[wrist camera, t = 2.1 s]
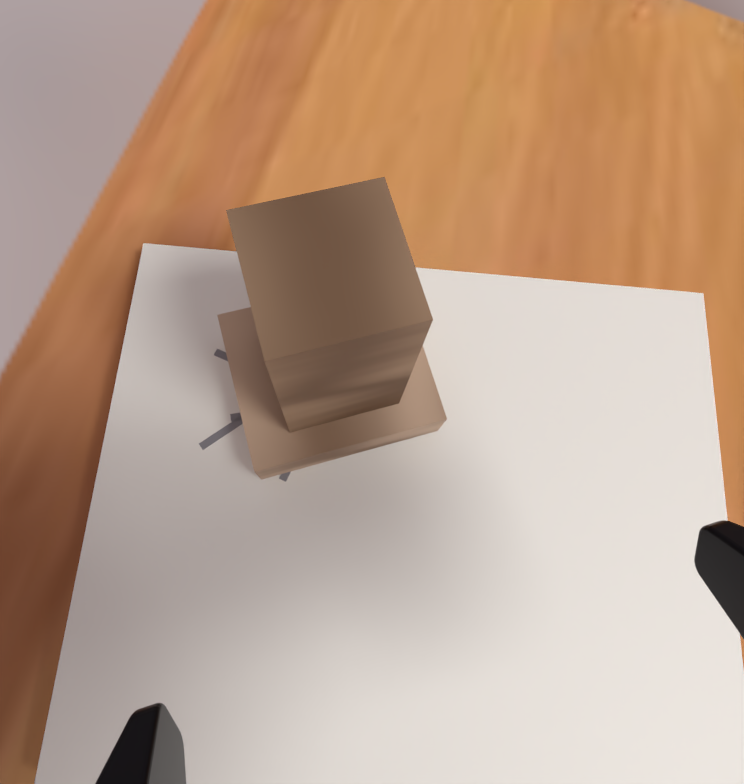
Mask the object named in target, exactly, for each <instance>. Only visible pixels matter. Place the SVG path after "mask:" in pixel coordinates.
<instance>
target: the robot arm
mask: <svg viewBox="0 0 744 784" xmlns="http://www.w3.org/2000/svg"><path fill="white" fill-rule="evenodd" d="M694 563H695V567H696V570H697V572H698V574H699V575H700V577H701V578H702V580H703V581H704V583H705V584H706V586H707V587H708V588H709V590H710V591H711V593H712V594H713V596H714V597H715V598H716V600H717V601H718V603H719V604H720V606H721V607H722V609H723V610H724V611H725V613H726V614H727V616H728V617H729V619H730V620H731V622H732V623H733V624H734V626H735V627H736V629H737V630H738V632H739V633H740V635H741V636H742V637H743V639H744V527H743V526H740V525H738V524H735V523H733V522H730V521H726V520H722V521H717V522H714V523H711V524H708V525H705V526H703V527H702V528H701V529H700V531H699V535H698V540H697V546H696V551H695V557H694ZM95 784H186V771H185V755H184V744H183V739H182V735H181V732H180V730H179V728H178V727H177V725H176V723H175V721H174V720H173V718H172V716H171V715H170V713H169V711H168V709H167V708H166V706H165V705H164V704H162V703H155V704H152V705H149V706H146V707H143V708H140V709H138V710H136V711H135V712H134V713H133V714H132V715H131V716H130V718H129V720H128V721H127V723H126V725H125V727H124V729H123V731H122V733H121V735H120V737H119V739H118V741H117V743H116V745H115V746H114V748H113V750H112V752H111V754H110V756H109V758H108V760H107V762H106V764H105V766H104V768H103V769H102V771H101V773H100V775H99V777H98V779H97V781H96V783H95Z"/></svg>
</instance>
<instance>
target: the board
mask: <svg viewBox="0 0 744 784" xmlns="http://www.w3.org/2000/svg"><path fill="white" fill-rule="evenodd" d="M416 271H417V274H418V277H419V280H420V283H421V285H422V288H423V291H424V294H425V297H426V300H427V303H428V306H429V309H430V312H431V315H432V318H433V321H432V324H431V326H430V328H429V331H428V333H427V336H426V338H425V341H424V343H423V348H424V351H425V354H426V357H427V360H428V363H429V366H430V369H431V372H432V375H433V378H434V381H435V384H436V387H437V390H438V393H439V396H440V399H441V402H442V405H443V408H444V411H445V414H446V417H447V420H446V421H445V422H444V423H443V425H442V426H441V427H440V428H439V430H438V431H435V432H432V433H428V434H425V435H421V436H417V437H414V438H410V439H407V440H403V441H399V442H396V443H392V444H388V445H385V446H381V447H378V448H374V449H370V450H367V451H363V452H359V453H356V454H352V455H349V456H345V457H341V458H338V459H334V460H330V461H327V462H323V463H320V464H316V465H312V466H309V467H305V468H302V469H298V470H294V471H291V472H287V473H283V474H280V475H276V476H273V477H269V478H265V479H262V480H261V479H260V478H259V476H258V475H257V474H256V473H255V472H254V469H253V465H252V460H251V456H250V452H249V448H248V443H247V439H246V435H245V431H244V426H243V422H242V418H241V414H240V410H239V405H238V401H237V397H236V393H235V388H234V384H233V380H232V376H231V371H230V367H229V363H228V359H227V354H226V350H225V346H224V342H223V337H222V333H221V329H220V325H219V320H218V316H217V315H219V314H223V313H227V312H232V311H236V310H240V309H244V308H249V307H251V306H250V302H249V298H248V294H247V290H246V286H245V282H244V278H243V274H242V270H241V266H240V262H239V259H238V255H237V252H236V251H225V250H214V249H203V248H192V247H180V246H169V245H158V244H147V243H143V248H142V253H141V258H140V263H139V268H138V273H137V278H136V283H135V288H134V293H133V298H132V303H131V307H130V312H129V317H128V322H127V327H126V332H125V337H124V342H123V347H122V352H121V357H120V362H119V367H118V372H117V377H116V382H115V387H114V392H113V397H112V401H111V406H110V411H109V416H108V421H107V426H106V431H105V436H104V441H103V446H102V451H101V456H100V461H99V466H98V471H97V476H96V481H95V486H94V491H93V495H92V500H91V505H90V510H89V515H88V520H87V525H86V530H85V535H84V540H83V545H82V550H81V555H80V560H79V565H78V570H77V575H76V580H75V584H74V589H73V594H72V599H71V604H70V609H69V614H68V619H67V624H66V629H65V634H64V639H63V644H62V649H61V654H60V659H59V664H58V669H57V674H56V678H55V683H54V688H53V693H52V698H51V703H50V708H49V713H48V718H47V723H46V728H45V733H44V738H43V743H42V748H41V753H40V758H39V763H38V767H37V772H36V777H35V782H34V784H95V783H96V781H97V779H98V777H99V775H100V773H101V771H102V769H103V768H104V766H105V764H106V762H107V760H108V758H109V756H110V754H111V752H112V750H113V748H114V746H115V745H116V743H117V741H118V739H119V737H120V735H121V733H122V731H123V729H124V727H125V725H126V723H127V721H128V720H129V718H130V716H131V715H132V714H133V713H134V712H135V711H136V710H138V709H140V708H143V707H146V706H149V705H152V704H155V703H162V704H164V705H165V706H166V708H167V709H168V711H169V713H170V715H171V716H172V718H173V720H174V721H175V723H176V725H177V727H178V728H179V730H180V732H181V735H182V739H183V744H184V755H185V771H186V784H744V670H743V660H742V651H741V642H740V633H739V632H738V630H737V629H736V627H735V626H734V624H733V623H732V622H731V620H730V619H729V617H728V616H727V614H726V613H725V611H724V610H723V609H722V607H721V606H720V604H719V603H718V601H717V600H716V598H715V597H714V596H713V594H712V593H711V591H710V590H709V588H708V587H707V586H706V584H705V583H704V581H703V580H702V578H701V577H700V575H699V574H698V572H697V570H696V567H695V563H694V557H695V551H696V546H697V540H698V535H699V531H700V529H701V528H702V527H703V526H705V525H708V524H711V523H714V522H717V521H722V520H726V521H728V520H727V510H726V501H725V492H724V482H723V473H722V464H721V454H720V445H719V435H718V426H717V417H716V407H715V398H714V389H713V379H712V370H711V361H710V351H709V342H708V332H707V323H706V314H705V304H704V295H703V293H694V292H683V291H672V290H661V289H650V288H638V287H627V286H616V285H605V284H594V283H583V282H571V281H560V280H549V279H538V278H527V277H516V276H504V275H493V274H482V273H471V272H460V271H449V270H437V269H426V268H416Z"/></svg>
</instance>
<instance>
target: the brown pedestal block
mask: <svg viewBox="0 0 744 784" xmlns="http://www.w3.org/2000/svg"><path fill="white" fill-rule="evenodd" d="M226 211H227V215H228V219H229V223H230V227H231V231H232V235H233V239H234V243H235V247H236V251H237V255H238V259H239V262H240V266H241V270H242V274H243V278H244V282H245V286H246V290H247V294H248V298H249V302H250V306H251V307H249V308H244V309H240V310H236V311H232V312H227V313H223V314H219V315H217V316H218V320H219V325H220V329H221V333H222V337H223V342H224V346H225V350H226V354H227V359H228V363H229V367H230V371H231V376H232V380H233V384H234V388H235V393H236V397H237V401H238V405H239V410H240V414H241V418H242V422H243V426H244V431H245V435H246V439H247V443H248V448H249V452H250V456H251V460H252V465H253V469H254V472H255V473H256V474H257V475H258V476H259V478H260V479H261V480H262V479H265V478H269V477H273V476H276V475H280V474H283V473H287V472H291V471H294V470H298V469H302V468H305V467H309V466H312V465H316V464H320V463H323V462H327V461H330V460H334V459H338V458H341V457H345V456H349V455H352V454H356V453H359V452H363V451H367V450H370V449H374V448H378V447H381V446H385V445H388V444H392V443H396V442H399V441H403V440H407V439H410V438H414V437H417V436H421V435H425V434H428V433H432V432H435V431H438V430H439V428H440V427H441V426H442V425H443V423H444V422H445V421H446V420H447V417H446V414H445V411H444V408H443V405H442V402H441V399H440V396H439V393H438V390H437V387H436V384H435V381H434V378H433V375H432V372H431V369H430V366H429V363H428V360H427V357H426V354H425V351H424V348H423V343H424V341H425V338H426V336H427V333H428V331H429V328H430V326H431V324H432V321H433V318H432V315H431V312H430V309H429V306H428V303H427V300H426V297H425V294H424V291H423V288H422V285H421V283H420V280H419V277H418V274H417V271H416V268H415V265H414V262H413V259H412V256H411V253H410V250H409V247H408V244H407V242H406V239H405V236H404V233H403V230H402V227H401V224H400V221H399V218H398V215H397V212H396V209H395V206H394V204H393V201H392V198H391V195H390V192H389V189H388V186H387V183H386V180H385V177H382V178H377V179H373V180H368V181H363V182H358V183H354V184H349V185H344V186H339V187H335V188H330V189H325V190H320V191H316V192H311V193H306V194H301V195H297V196H292V197H287V198H282V199H278V200H273V201H268V202H263V203H259V204H254V205H249V206H244V207H240V208H235V209H230V210H226Z"/></svg>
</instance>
